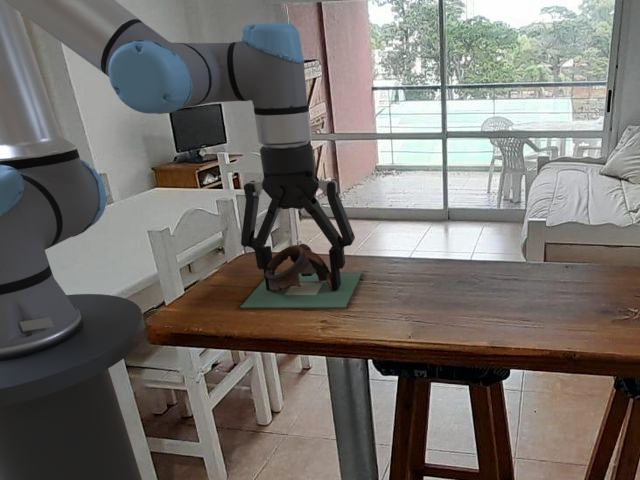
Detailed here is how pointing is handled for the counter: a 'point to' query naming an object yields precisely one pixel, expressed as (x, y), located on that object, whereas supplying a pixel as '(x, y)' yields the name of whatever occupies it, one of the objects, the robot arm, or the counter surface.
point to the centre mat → (305, 294)
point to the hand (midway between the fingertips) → (304, 287)
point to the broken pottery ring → (297, 268)
